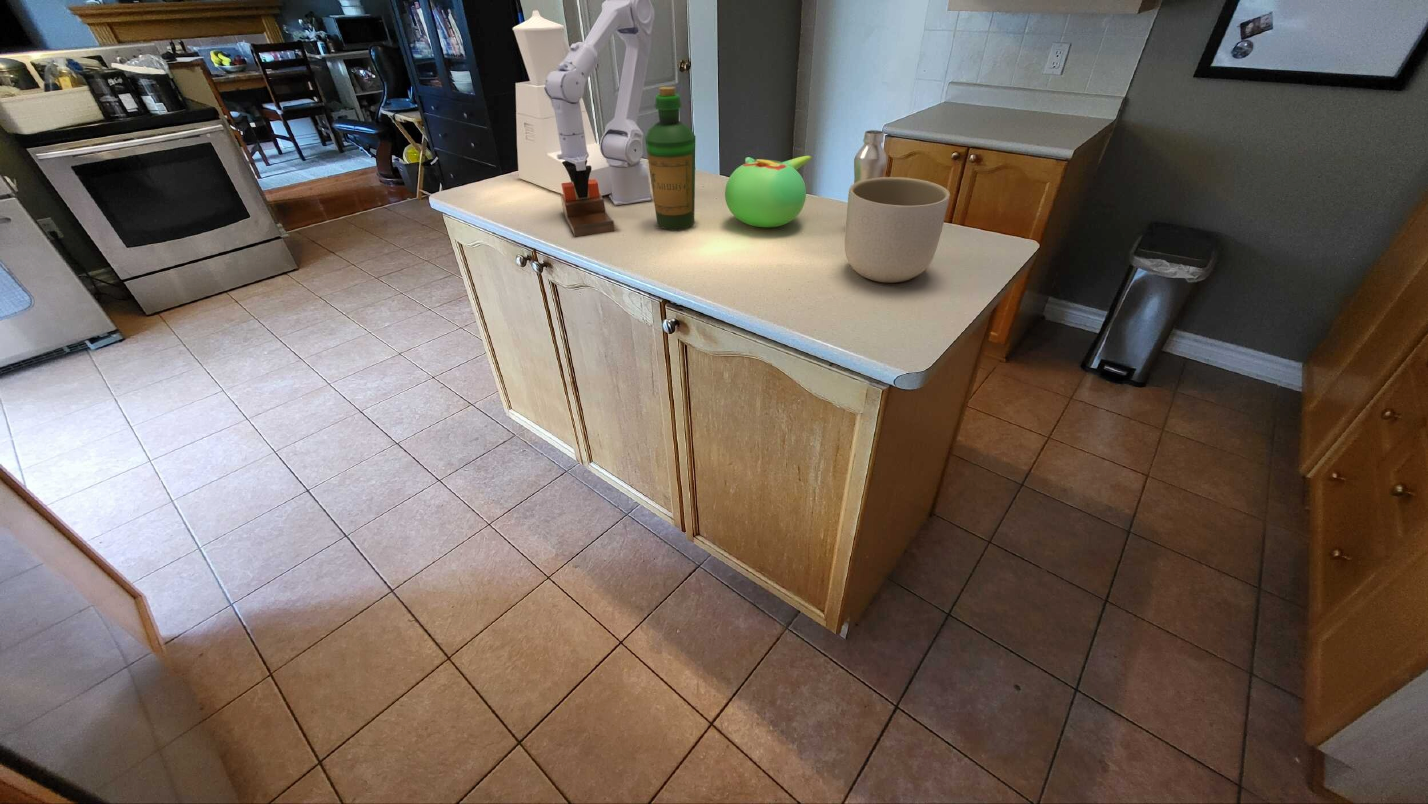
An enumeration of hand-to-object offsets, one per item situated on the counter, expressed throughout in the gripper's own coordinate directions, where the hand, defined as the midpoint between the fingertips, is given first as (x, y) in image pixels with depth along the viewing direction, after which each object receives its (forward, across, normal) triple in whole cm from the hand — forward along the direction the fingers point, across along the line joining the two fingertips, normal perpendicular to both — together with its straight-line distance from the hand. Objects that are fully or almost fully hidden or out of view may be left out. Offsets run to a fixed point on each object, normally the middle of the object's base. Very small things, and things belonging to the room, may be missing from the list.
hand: (581, 194), depth 135 cm
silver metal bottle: (+5, +35, +56) cm, 66 cm away
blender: (+5, -28, +3) cm, 28 cm away
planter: (+5, +56, +48) cm, 74 cm away
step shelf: (+5, +4, 0) cm, 7 cm away
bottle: (+5, +15, +18) cm, 24 cm away
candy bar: (0, 0, 0) cm, 0 cm away
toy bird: (+5, +23, +38) cm, 44 cm away
